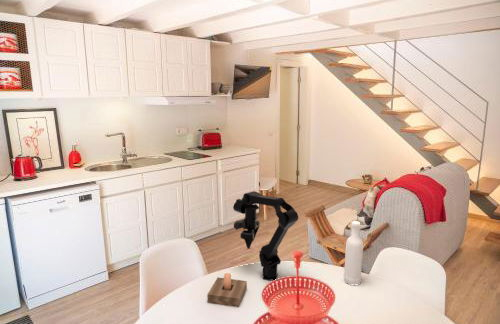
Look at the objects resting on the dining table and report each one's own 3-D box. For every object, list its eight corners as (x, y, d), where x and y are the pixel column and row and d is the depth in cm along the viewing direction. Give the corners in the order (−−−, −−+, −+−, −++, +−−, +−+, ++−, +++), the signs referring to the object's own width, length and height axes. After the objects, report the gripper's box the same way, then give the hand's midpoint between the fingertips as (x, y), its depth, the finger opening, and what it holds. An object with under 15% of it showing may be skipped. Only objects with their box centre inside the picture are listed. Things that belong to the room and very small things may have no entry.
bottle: (341, 282, 159) (345, 223, 153) (346, 275, 165) (349, 218, 160) (358, 287, 154) (362, 226, 149) (362, 279, 161) (366, 221, 155)
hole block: (246, 288, 153) (246, 281, 152) (239, 307, 139) (239, 298, 139) (217, 285, 156) (217, 277, 155) (207, 302, 142) (207, 294, 142)
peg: (231, 294, 149) (231, 273, 147) (230, 297, 146) (229, 277, 144) (225, 293, 149) (225, 272, 148) (223, 297, 147) (223, 276, 145)
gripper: (239, 209, 179) (239, 236, 182) (230, 221, 161) (230, 251, 164) (260, 210, 177) (259, 238, 180) (252, 223, 159) (252, 253, 162)
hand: (250, 244), depth 171 cm, fingers open, 9 cm apart
